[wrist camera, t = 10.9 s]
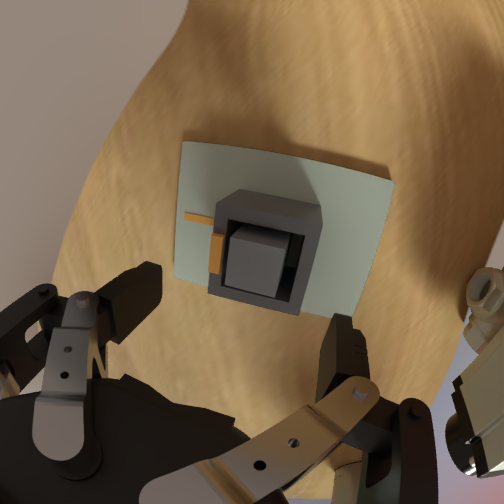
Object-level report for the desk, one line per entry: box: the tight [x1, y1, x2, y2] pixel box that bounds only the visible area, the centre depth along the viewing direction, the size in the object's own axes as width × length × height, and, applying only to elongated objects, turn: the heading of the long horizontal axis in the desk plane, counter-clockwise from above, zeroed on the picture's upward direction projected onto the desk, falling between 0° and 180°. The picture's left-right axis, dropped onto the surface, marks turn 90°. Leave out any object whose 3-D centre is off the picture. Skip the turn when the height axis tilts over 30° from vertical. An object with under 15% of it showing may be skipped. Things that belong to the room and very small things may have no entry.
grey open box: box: [208, 189, 323, 316], centre depth 18 cm, size 6×6×5 cm
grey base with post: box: [174, 141, 395, 318], centre depth 18 cm, size 16×12×7 cm
